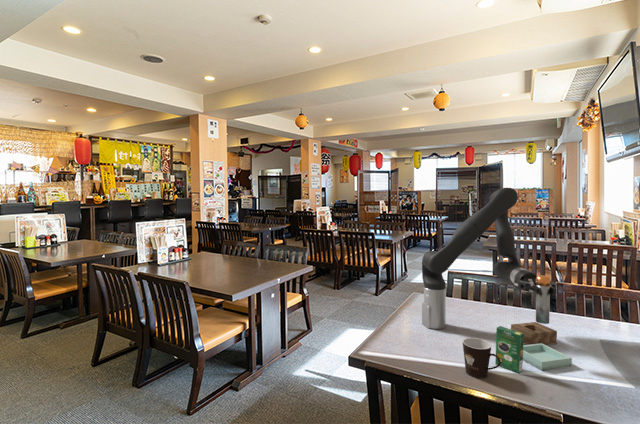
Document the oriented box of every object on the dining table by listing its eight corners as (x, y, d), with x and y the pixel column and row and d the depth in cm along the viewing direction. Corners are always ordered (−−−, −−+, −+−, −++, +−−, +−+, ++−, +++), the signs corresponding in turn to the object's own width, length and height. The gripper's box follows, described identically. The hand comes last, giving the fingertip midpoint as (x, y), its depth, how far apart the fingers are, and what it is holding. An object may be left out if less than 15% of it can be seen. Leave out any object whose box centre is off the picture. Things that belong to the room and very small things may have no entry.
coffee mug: (457, 367, 115) (457, 338, 114) (481, 366, 116) (481, 337, 115) (475, 386, 103) (476, 354, 103) (502, 384, 104) (503, 352, 104)
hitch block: (530, 346, 130) (530, 334, 130) (510, 336, 140) (511, 324, 139) (556, 343, 132) (556, 331, 132) (535, 333, 142) (535, 321, 142)
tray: (541, 370, 112) (541, 362, 112) (513, 354, 124) (514, 346, 124) (571, 366, 114) (571, 358, 114) (541, 351, 126) (541, 343, 126)
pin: (542, 324, 116) (543, 278, 116) (532, 320, 120) (533, 275, 119) (552, 323, 117) (553, 277, 116) (542, 319, 121) (543, 274, 120)
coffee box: (524, 371, 112) (524, 332, 111) (519, 374, 110) (520, 334, 109) (499, 362, 118) (499, 325, 118) (495, 364, 117) (495, 327, 116)
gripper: (505, 269, 133) (525, 280, 116) (544, 270, 131) (570, 281, 114) (504, 288, 133) (524, 301, 116) (543, 289, 131) (570, 303, 114)
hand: (547, 291), depth 115 cm, fingers closed on pin, 4 cm apart
